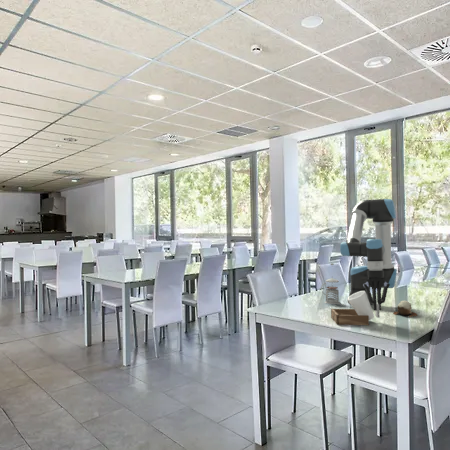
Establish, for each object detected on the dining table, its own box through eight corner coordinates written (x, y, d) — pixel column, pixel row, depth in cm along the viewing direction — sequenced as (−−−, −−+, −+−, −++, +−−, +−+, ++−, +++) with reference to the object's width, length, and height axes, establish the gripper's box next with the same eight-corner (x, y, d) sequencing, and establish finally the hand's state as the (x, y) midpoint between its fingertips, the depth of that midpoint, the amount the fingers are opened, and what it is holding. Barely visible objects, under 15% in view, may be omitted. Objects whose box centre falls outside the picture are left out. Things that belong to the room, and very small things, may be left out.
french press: (341, 304, 241) (340, 263, 241) (321, 303, 243) (321, 263, 244) (339, 301, 251) (339, 262, 251) (321, 300, 253) (320, 262, 253)
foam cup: (371, 313, 201) (359, 290, 201) (380, 315, 192) (368, 291, 192) (356, 321, 199) (344, 298, 200) (364, 324, 190) (352, 300, 191)
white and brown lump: (395, 309, 221) (408, 297, 217) (410, 323, 216) (423, 311, 211) (387, 311, 213) (400, 299, 208) (402, 327, 207) (416, 314, 203)
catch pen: (331, 317, 206) (331, 308, 206) (360, 317, 204) (360, 309, 204) (336, 324, 190) (336, 315, 190) (368, 325, 188) (368, 315, 188)
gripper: (364, 270, 193) (366, 318, 192) (391, 269, 192) (393, 318, 191) (360, 269, 200) (362, 315, 199) (385, 268, 199) (388, 315, 198)
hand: (377, 316), depth 195 cm, fingers closed
